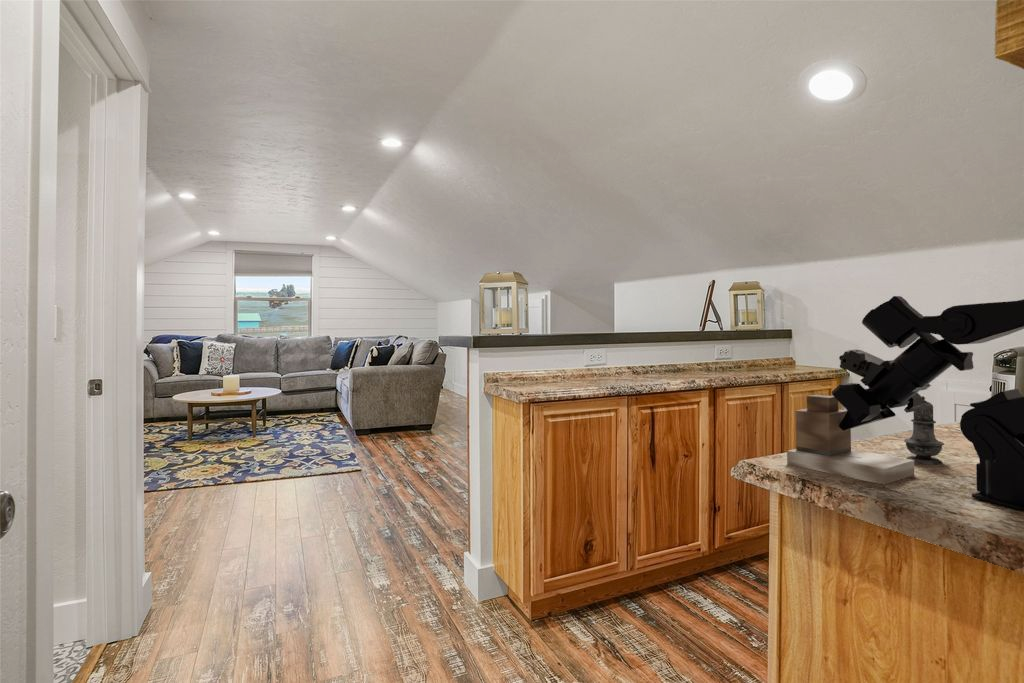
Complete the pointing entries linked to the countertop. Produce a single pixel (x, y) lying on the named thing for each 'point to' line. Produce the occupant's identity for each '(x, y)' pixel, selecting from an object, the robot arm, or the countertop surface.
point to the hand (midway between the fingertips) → (841, 428)
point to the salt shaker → (924, 436)
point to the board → (856, 465)
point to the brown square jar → (822, 427)
